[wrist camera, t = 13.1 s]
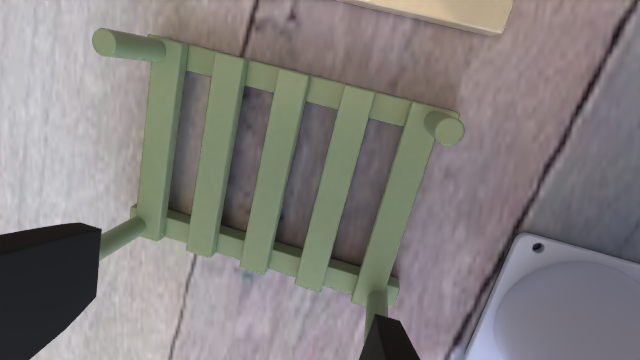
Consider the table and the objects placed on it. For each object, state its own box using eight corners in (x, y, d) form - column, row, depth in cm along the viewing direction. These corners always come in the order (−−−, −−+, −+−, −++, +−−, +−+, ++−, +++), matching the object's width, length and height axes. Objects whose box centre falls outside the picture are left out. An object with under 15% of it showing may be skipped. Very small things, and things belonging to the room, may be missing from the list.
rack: (456, 111, 17) (485, 122, 12) (392, 297, 20) (395, 364, 15) (159, 36, 18) (80, 19, 14) (139, 219, 21) (69, 258, 16)
